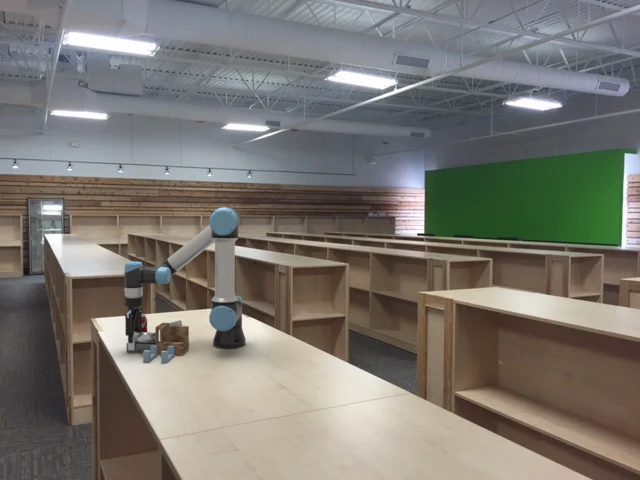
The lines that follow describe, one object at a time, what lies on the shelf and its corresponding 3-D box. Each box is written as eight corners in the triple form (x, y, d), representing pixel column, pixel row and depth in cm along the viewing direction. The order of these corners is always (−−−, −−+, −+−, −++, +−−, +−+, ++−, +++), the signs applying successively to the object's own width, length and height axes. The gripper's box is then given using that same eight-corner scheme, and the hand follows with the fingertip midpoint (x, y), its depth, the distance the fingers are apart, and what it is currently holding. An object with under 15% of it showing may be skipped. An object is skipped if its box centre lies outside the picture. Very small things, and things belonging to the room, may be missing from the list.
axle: (158, 343, 242) (158, 331, 242) (154, 344, 237) (154, 333, 237) (132, 342, 242) (132, 331, 243) (127, 343, 237) (128, 332, 238)
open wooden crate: (188, 350, 243) (188, 323, 242) (182, 355, 235) (182, 328, 234) (162, 349, 244) (162, 322, 243) (155, 354, 235) (155, 327, 234)
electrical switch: (171, 343, 254) (170, 323, 254) (163, 342, 257) (162, 323, 257) (185, 339, 263) (184, 320, 262) (177, 338, 265) (176, 320, 265)
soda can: (138, 343, 254) (137, 318, 253) (129, 340, 258) (129, 315, 257) (150, 340, 259) (150, 315, 258) (142, 337, 263) (141, 313, 262)
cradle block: (174, 356, 233) (174, 345, 233) (166, 363, 224) (166, 352, 223) (151, 355, 233) (151, 345, 233) (143, 362, 224) (143, 351, 224)
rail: (160, 350, 242) (160, 341, 242) (156, 353, 237) (156, 344, 237) (130, 349, 243) (130, 340, 242) (126, 352, 238) (126, 343, 238)
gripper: (133, 292, 248) (133, 342, 249) (116, 300, 230) (117, 353, 231) (149, 293, 247) (149, 343, 249) (133, 300, 229) (134, 354, 231)
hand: (134, 348), depth 240 cm, fingers closed on axle, 5 cm apart
